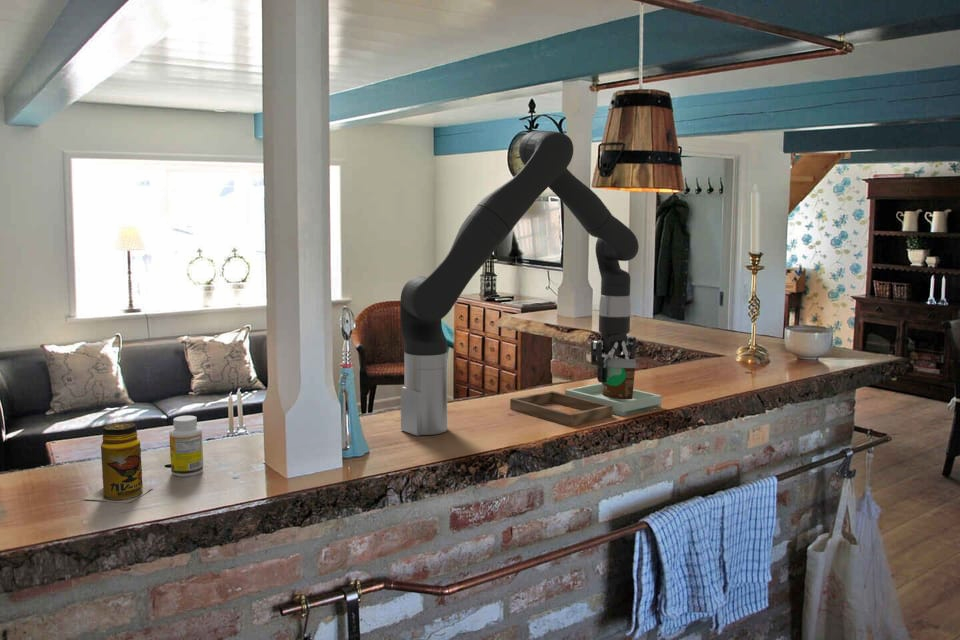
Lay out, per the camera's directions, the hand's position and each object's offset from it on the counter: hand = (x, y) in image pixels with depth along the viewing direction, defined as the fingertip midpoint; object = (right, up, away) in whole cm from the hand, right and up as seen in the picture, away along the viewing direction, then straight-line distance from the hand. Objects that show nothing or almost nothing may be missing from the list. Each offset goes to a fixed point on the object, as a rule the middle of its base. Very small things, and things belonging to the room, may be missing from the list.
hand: (612, 380), depth 204 cm
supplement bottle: (-86, -13, -53) cm, 102 cm away
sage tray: (0, -6, +1) cm, 6 cm away
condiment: (-93, -15, -64) cm, 114 cm away
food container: (0, -4, 0) cm, 4 cm away
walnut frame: (-14, -7, -8) cm, 17 cm away
